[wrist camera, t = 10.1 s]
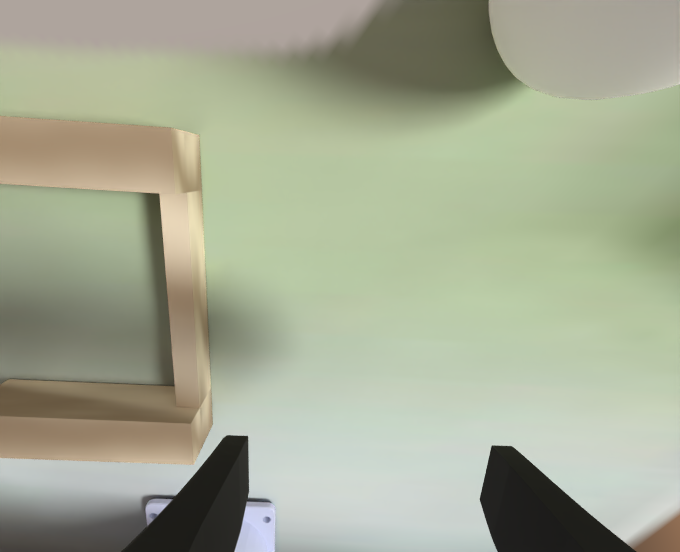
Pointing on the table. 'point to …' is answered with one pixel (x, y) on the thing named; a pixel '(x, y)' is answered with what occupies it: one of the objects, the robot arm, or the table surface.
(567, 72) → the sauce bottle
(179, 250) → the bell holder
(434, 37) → the table surface
